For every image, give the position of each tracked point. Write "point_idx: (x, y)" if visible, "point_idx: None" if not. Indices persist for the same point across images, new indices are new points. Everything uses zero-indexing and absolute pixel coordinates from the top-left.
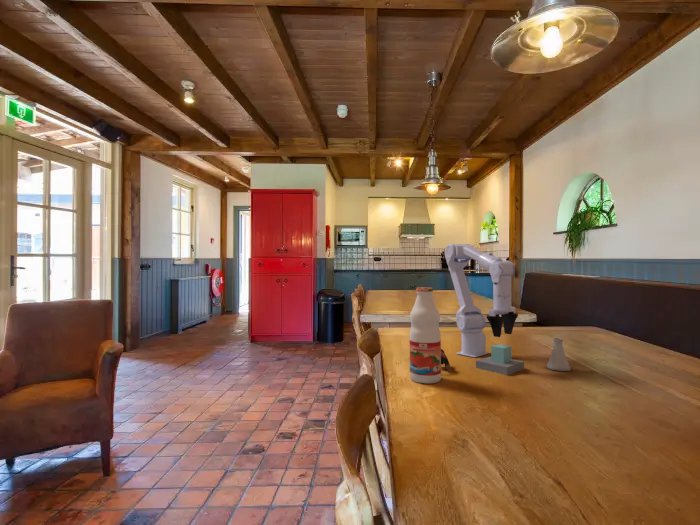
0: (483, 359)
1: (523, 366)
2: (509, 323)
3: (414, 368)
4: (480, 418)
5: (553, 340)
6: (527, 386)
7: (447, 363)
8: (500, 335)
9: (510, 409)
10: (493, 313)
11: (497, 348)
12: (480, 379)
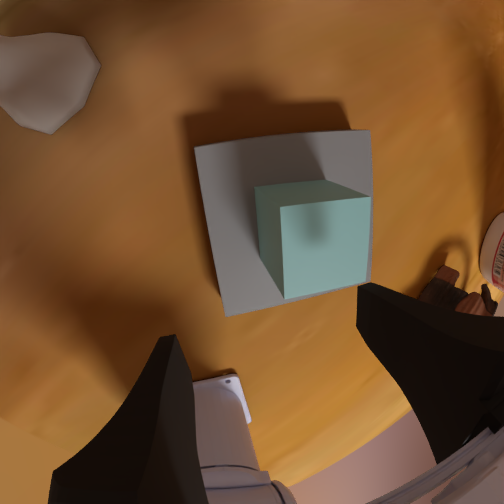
0: None
1: (201, 145)
2: (176, 425)
3: None
4: None
5: None
6: (392, 23)
7: (454, 285)
8: (369, 287)
9: (497, 25)
10: None
11: (364, 237)
12: (443, 161)
